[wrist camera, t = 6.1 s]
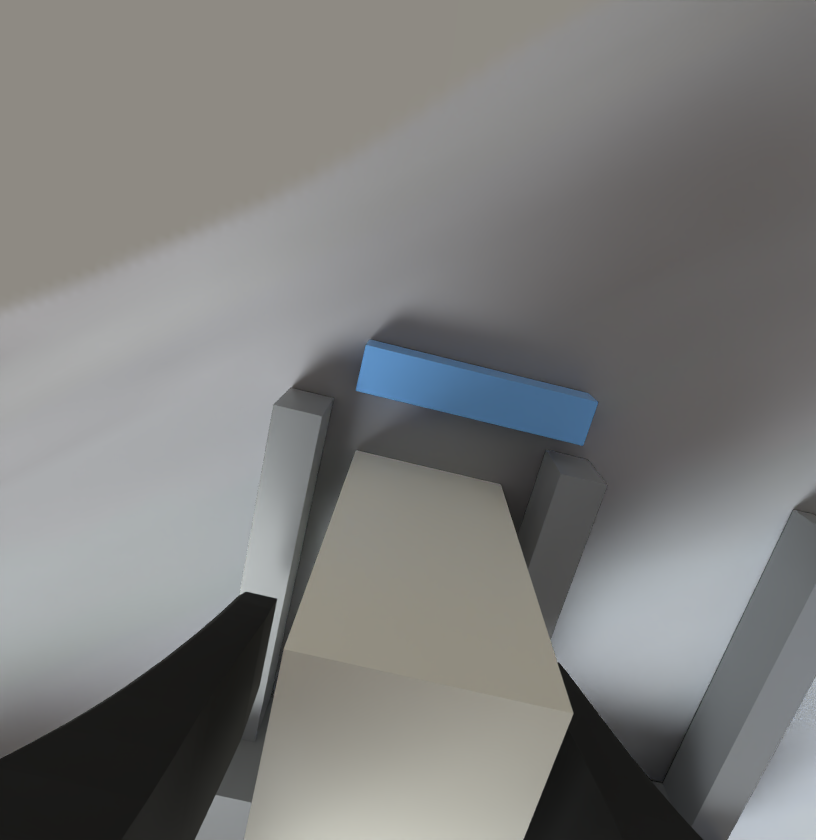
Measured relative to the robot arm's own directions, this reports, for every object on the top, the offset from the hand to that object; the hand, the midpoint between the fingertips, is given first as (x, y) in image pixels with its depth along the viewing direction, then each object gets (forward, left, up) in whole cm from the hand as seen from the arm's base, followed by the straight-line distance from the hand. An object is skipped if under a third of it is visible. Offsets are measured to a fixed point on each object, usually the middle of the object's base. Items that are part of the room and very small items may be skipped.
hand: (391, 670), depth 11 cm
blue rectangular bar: (0, -5, -3) cm, 6 cm away
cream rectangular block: (0, 0, -3) cm, 4 cm away
